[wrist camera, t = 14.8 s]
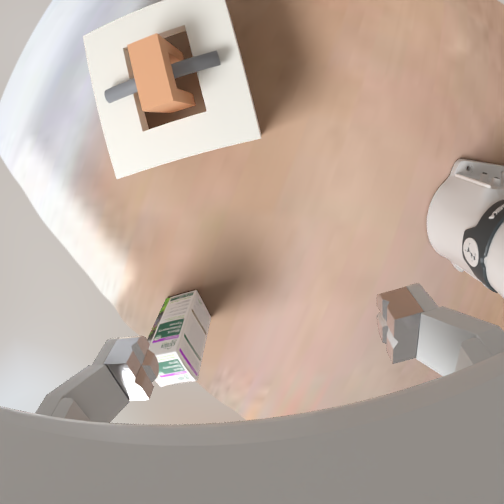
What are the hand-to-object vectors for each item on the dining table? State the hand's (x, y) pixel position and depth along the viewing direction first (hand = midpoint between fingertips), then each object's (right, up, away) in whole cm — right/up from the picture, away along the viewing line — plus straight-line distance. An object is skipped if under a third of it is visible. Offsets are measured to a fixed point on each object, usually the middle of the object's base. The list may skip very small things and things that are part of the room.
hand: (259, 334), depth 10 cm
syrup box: (-10, -6, +39) cm, 41 cm away
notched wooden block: (-9, +22, +22) cm, 32 cm away
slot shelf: (-9, +24, +26) cm, 37 cm away
